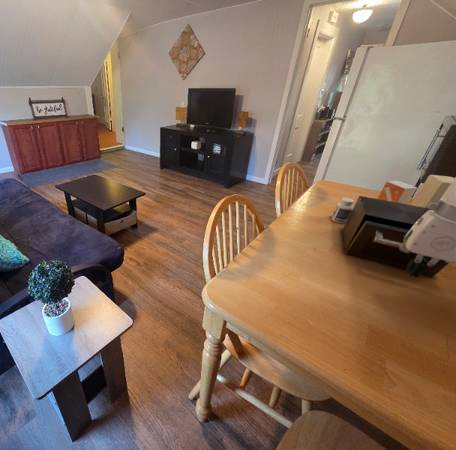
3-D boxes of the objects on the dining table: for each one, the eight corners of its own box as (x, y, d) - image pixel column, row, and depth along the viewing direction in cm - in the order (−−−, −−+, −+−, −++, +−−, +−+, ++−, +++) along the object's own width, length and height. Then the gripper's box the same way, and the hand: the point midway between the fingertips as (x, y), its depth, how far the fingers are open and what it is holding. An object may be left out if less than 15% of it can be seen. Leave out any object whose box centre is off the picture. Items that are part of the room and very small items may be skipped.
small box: (371, 207, 113) (386, 181, 106) (383, 206, 114) (398, 180, 107) (388, 216, 106) (405, 188, 99) (401, 214, 107) (418, 187, 100)
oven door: (434, 289, 72) (473, 258, 61) (344, 263, 81) (366, 233, 71) (430, 274, 75) (467, 242, 65) (345, 251, 84) (365, 220, 74)
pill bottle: (349, 223, 101) (360, 202, 96) (337, 224, 100) (348, 203, 95) (339, 216, 105) (348, 196, 100) (328, 217, 105) (337, 197, 99)
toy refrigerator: (431, 235, 93) (469, 184, 82) (408, 232, 95) (441, 182, 84) (420, 225, 100) (453, 176, 89) (398, 222, 102) (428, 174, 91)
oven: (429, 274, 75) (462, 234, 67) (345, 251, 85) (364, 214, 77) (415, 247, 87) (441, 210, 79) (342, 230, 96) (359, 195, 88)
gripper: (419, 210, 54) (378, 271, 64) (519, 229, 48) (457, 293, 58) (410, 198, 60) (374, 256, 70) (498, 213, 54) (445, 274, 63)
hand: (412, 273), depth 64 cm, fingers closed
